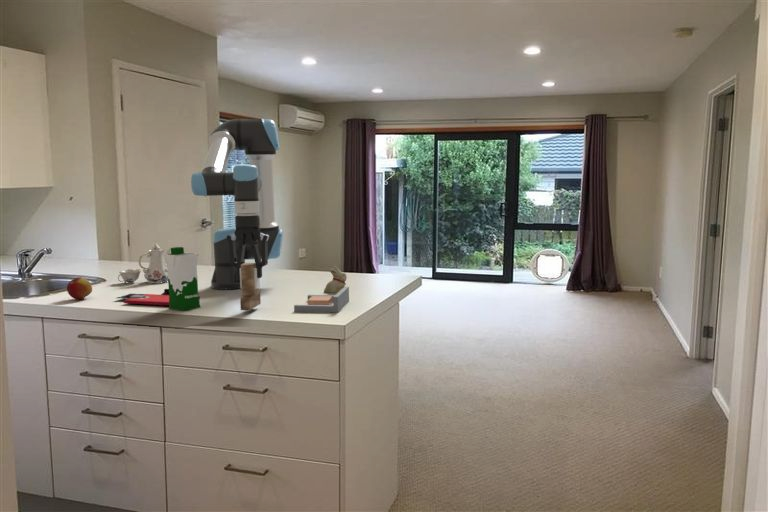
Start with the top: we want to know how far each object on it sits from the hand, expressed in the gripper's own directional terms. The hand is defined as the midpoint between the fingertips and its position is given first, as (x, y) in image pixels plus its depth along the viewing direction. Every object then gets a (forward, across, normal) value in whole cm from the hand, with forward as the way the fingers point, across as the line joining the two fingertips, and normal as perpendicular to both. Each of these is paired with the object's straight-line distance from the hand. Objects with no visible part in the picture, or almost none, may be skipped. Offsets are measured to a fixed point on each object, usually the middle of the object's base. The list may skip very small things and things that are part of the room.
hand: (250, 287), depth 193 cm
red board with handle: (+8, -39, +13) cm, 42 cm away
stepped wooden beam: (+6, 0, 0) cm, 6 cm away
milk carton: (+8, -24, +3) cm, 25 cm away
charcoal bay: (+8, +21, +9) cm, 24 cm away
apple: (+8, -69, +14) cm, 71 cm away
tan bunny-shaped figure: (+8, +20, +35) cm, 41 cm away
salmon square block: (+8, +20, +9) cm, 24 cm away
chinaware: (+8, -62, +53) cm, 82 cm away
